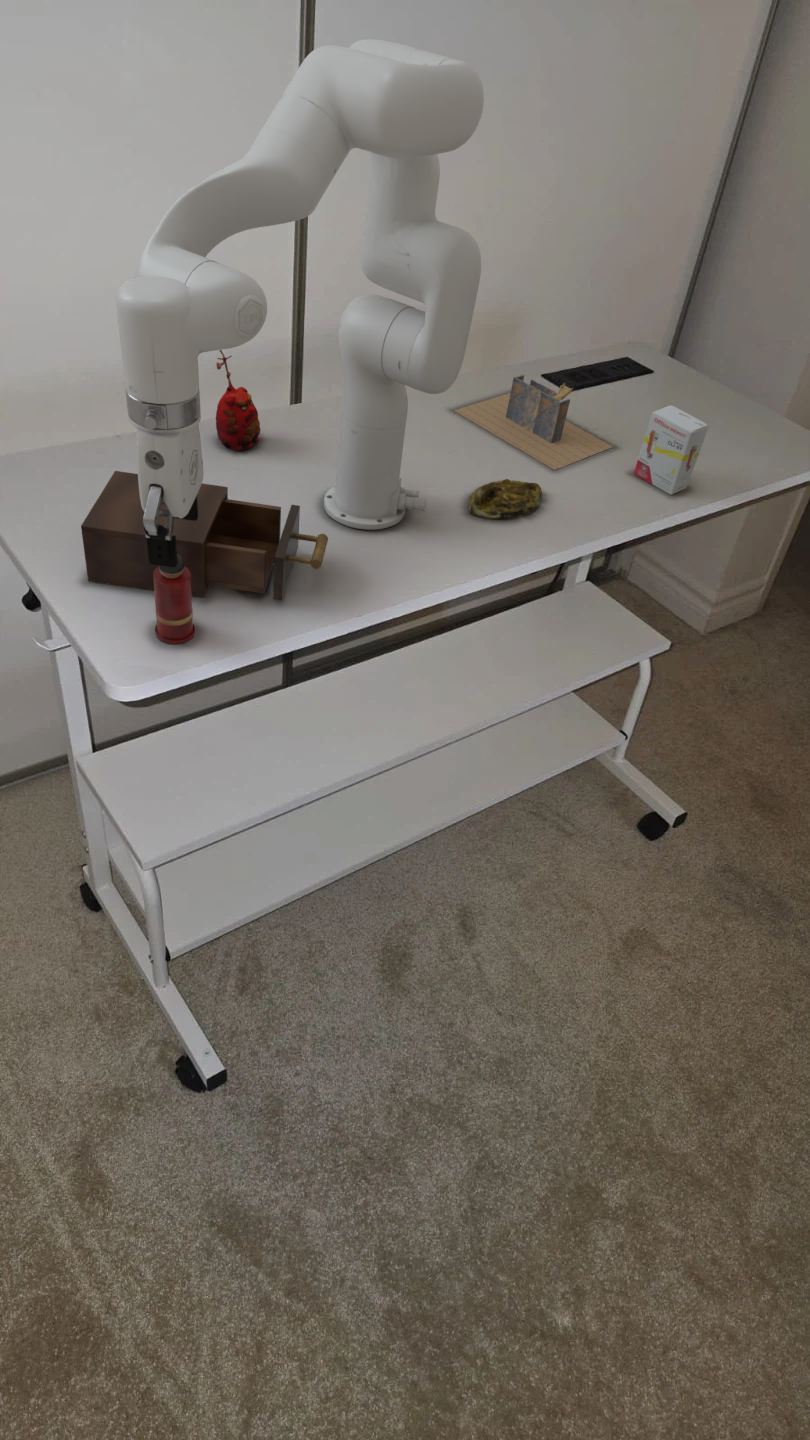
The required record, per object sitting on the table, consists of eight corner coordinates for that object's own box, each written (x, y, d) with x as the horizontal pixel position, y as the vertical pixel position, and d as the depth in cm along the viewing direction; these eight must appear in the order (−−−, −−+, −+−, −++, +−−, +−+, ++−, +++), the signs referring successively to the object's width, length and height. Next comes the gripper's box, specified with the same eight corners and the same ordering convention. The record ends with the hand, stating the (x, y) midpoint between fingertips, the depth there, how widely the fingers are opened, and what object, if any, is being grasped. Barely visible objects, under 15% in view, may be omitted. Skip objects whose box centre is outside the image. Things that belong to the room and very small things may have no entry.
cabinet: (228, 539, 138) (227, 486, 133) (204, 598, 128) (203, 543, 122) (120, 524, 138) (115, 470, 132) (88, 581, 128) (80, 525, 122)
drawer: (329, 551, 138) (332, 510, 133) (315, 606, 128) (318, 563, 123) (197, 532, 137) (195, 490, 133) (173, 585, 128) (171, 542, 123)
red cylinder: (199, 623, 124) (196, 545, 116) (190, 647, 120) (186, 569, 112) (161, 617, 124) (155, 539, 116) (150, 641, 120) (143, 562, 112)
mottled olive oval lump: (515, 483, 162) (451, 507, 154) (518, 457, 159) (454, 479, 151) (557, 503, 157) (494, 528, 149) (561, 476, 154) (497, 500, 146)
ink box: (631, 473, 168) (651, 409, 159) (648, 466, 170) (669, 403, 162) (670, 496, 163) (692, 431, 155) (687, 488, 166) (710, 424, 158)
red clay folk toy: (246, 457, 156) (246, 367, 146) (207, 446, 157) (204, 356, 147) (266, 437, 162) (267, 350, 151) (228, 427, 163) (227, 339, 153)
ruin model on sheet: (613, 446, 174) (628, 395, 168) (554, 470, 165) (567, 416, 159) (513, 391, 186) (523, 341, 180) (453, 410, 177) (462, 358, 171)
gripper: (178, 449, 95) (188, 588, 107) (217, 373, 108) (222, 505, 120) (103, 439, 95) (121, 579, 107) (150, 364, 108) (162, 497, 120)
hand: (174, 540), depth 113 cm, fingers open, 9 cm apart
